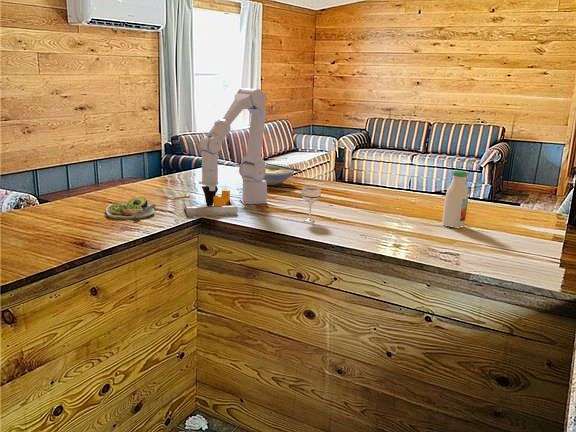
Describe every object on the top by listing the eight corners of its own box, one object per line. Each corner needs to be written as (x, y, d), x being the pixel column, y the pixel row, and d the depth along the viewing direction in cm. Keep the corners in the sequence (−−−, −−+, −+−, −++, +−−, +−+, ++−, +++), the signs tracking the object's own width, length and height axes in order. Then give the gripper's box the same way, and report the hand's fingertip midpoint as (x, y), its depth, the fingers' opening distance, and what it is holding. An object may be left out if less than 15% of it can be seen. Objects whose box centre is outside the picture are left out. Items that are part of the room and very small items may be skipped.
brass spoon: (188, 196, 215) (188, 194, 215) (191, 197, 213) (191, 195, 213) (173, 198, 211) (173, 196, 211) (176, 199, 210) (176, 197, 209)
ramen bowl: (232, 182, 245) (233, 164, 243) (269, 177, 260) (270, 160, 258) (267, 192, 227) (268, 173, 225) (305, 186, 242) (306, 168, 240)
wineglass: (309, 217, 192) (311, 184, 189) (323, 221, 187) (325, 188, 184) (296, 220, 187) (297, 187, 184) (310, 224, 183) (311, 190, 179)
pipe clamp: (218, 205, 203) (219, 189, 201) (229, 206, 202) (229, 190, 201) (208, 213, 192) (208, 196, 190) (220, 214, 191) (220, 197, 189)
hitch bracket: (231, 206, 201) (232, 199, 201) (237, 214, 191) (237, 206, 190) (184, 207, 197) (184, 200, 196) (187, 216, 186) (187, 208, 185)
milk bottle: (452, 229, 184) (460, 173, 178) (437, 224, 190) (444, 169, 185) (468, 227, 187) (476, 172, 182) (453, 222, 194) (460, 168, 189)
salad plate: (161, 221, 180) (160, 208, 179) (106, 224, 174) (105, 210, 173) (155, 207, 197) (155, 195, 196) (105, 209, 192) (104, 196, 190)
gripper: (196, 166, 197) (196, 201, 201) (201, 173, 184) (201, 211, 188) (215, 166, 199) (215, 200, 203) (221, 173, 186) (220, 210, 190)
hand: (209, 205), depth 195 cm, fingers closed
